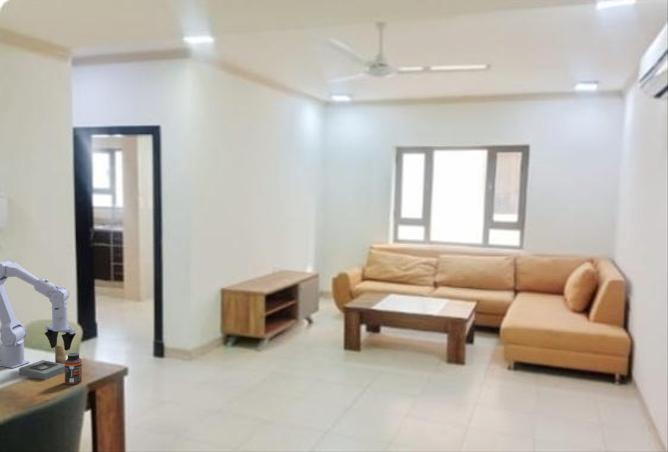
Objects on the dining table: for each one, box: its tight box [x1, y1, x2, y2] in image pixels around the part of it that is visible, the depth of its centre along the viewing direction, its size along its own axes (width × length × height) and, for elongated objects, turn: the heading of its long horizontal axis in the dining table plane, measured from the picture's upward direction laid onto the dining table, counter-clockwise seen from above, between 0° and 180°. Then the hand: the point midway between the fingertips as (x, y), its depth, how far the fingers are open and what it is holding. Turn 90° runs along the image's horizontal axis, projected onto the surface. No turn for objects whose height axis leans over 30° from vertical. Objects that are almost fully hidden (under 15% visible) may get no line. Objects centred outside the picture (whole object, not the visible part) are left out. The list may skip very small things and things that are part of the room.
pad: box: [37, 365, 50, 369], centre depth 216 cm, size 5×5×1 cm
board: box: [18, 359, 65, 381], centre depth 216 cm, size 14×11×3 cm
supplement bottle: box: [64, 352, 83, 386], centre depth 206 cm, size 6×6×11 cm
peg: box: [54, 343, 67, 364], centre depth 226 cm, size 4×4×8 cm
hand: (60, 348), depth 225 cm, fingers open, 7 cm apart
